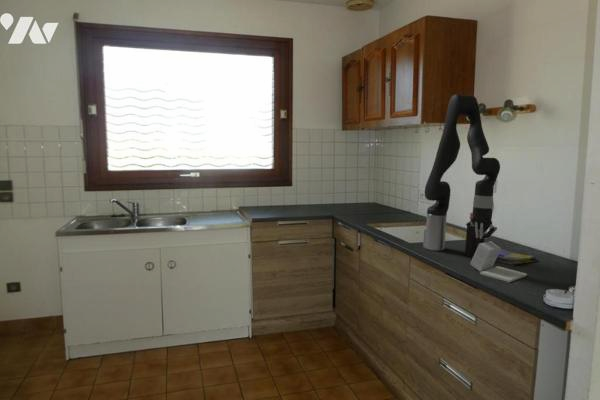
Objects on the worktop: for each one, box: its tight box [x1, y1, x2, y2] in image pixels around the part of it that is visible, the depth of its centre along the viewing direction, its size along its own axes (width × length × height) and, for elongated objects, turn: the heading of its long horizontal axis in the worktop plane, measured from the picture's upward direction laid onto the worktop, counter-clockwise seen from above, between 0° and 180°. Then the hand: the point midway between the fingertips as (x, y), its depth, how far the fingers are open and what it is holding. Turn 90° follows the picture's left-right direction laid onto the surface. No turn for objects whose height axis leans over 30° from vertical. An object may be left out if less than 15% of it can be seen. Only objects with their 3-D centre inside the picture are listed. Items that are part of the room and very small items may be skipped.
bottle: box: [464, 212, 477, 258], centre depth 199 cm, size 7×7×20 cm
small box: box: [469, 240, 502, 272], centre depth 178 cm, size 8×6×10 cm
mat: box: [479, 265, 528, 283], centre depth 172 cm, size 12×14×1 cm
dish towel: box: [495, 248, 538, 266], centre depth 200 cm, size 18×24×3 cm
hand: (479, 246), depth 180 cm, fingers closed
